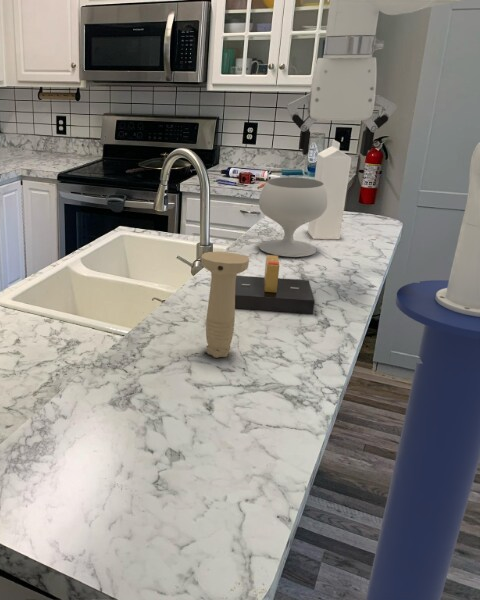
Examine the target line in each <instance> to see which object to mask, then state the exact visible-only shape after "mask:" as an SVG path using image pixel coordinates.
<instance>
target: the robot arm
mask: <svg viewBox="0 0 480 600" xmlns="http://www.w3.org/2000/svg"><path fill="white" fill-rule="evenodd" d="M463 1H465V0H329V7H328V14H327V20H326V21H327V22H326V30H325V38H324V46H323V53H322V57H318V58H317V60H316V63H315V66H314V71H313V75H312V79H311V84H310V90H309V93H308V94H305V95H303V96H301V97H299V98H297V99H295V100H293V101H291V102H289V103H287V105H286V108H287V111H288V113H289V116H290V118H291V120H292V122H293V123H294V124H295V125H296V127H298V128H299V129H300V134H299V143H298V144H299V145H298V150H301V153H302V155H303V156H307V155H309V148H310V140H311V131H310V128H311V127H312V126H313V125H314V124H315V123H316V122H317V121H344V122H345V121H349V122H350V121H351V122H352V121H353V122H355V121H357V122H358V121H361V122H362V123H363V125H364V126H365V129H364V130H363V131H362V135H361V136H362V137H361V142H360V150H359V154H360V155H361V156H363V157H368V155H369V152H370V151H372V149H373V146H374V145H373V144H374V138H375V133H376V132H377V131H378V129H380V128H381V127H382V126H383V125H384V124H386V123H387V122H388V121H389V119H390V118H391V116H392V115H393V113H394V112H395V111H396V109H397V104H395V102H392V101H391V100H389V99H387V98H385V97H383V96H381V95H379V94H377V93H376V90H377V77H378V76H377V75H378V73H377V71H378V70H377V66H378V65H377V57H375V56H373V54H374V53H375V52H376V51H378V50H383V49H384V45H385V40H384V39H382V40H381V39H378V38H377V36H376V34H377V28H378V27H377V26H378V21H379V15H380V12H381V13H382V14H385V15H389V16H398V15H402V14H403V15H404V14H410V13H415V12H418V11H421V10H423V9H427V8H432V7H437V6H442V5H447V4H453V3H457V2H463ZM306 104H307V114H308V115H307V116H306V117H305V118H304V119H302V118H301V116H300V115H299V113H298V109H299V108H300V107H302V106H304V105H306ZM375 104H377V105H379V106H381V107H382V108H383V111H382V113H380V115H379V116H377V117H376V118H375V119H374V120H373V118H372V116H373V113H374V108H375ZM468 177H469V178H468V190H467V196H466V203H465V208H464V212H463V217H462V220H461V225H460V229H459V235H458V238H457V243H456V247H455V253H454V257H453V261H452V266H451V269H450V274H449V278H448V281H449V283H448V287H447V288H445V289H441V290H439V291H438V292H437V293H436V297H435V300H436V301H437V303H438V304H440V305H441V306H443V307H444V308H447V309H449V310H451V311H454V312H457V313H461V314H465V315H469V316H475V317H480V141H479V142H478V143H477V144H476V146H475V147H474V149H473V152H472V155H471V159H470V164H469V175H468Z"/></svg>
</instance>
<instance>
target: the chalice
mask: <svg viewBox="0 0 480 600" xmlns="http://www.w3.org/2000/svg"><path fill="white" fill-rule="evenodd" d="M258 206H259V209H260V211H261V212H262V214H263V215H264V216H266V217H267V218H269V219H270V220H272V221H273V222H275V223H277V224H278V225H279V226H280V227H281V228H282V229H283V232H284V236H283V238H282V239H270V240H265V241H263V242H261V243H260V244H259V245H258V247H259V249H260V250H261V251H263V252H265V253H267V254H269V255H275V256H281V257H288V258H289V257H292V258H293V257H294V258H295V257H307V256H311V255H314V254H315V253H316V252H317V248H316V247H315V246H314V245H312V244H310V243H307V242H304V241H299V240H295V239H294V233H295V231H296V230H297V229H298V228H300V227H301V226H303V225H305V224H309V222H310V221H313V220H315V219H317V218H319V217H320V216H321V215H322V214H323V213H324V212H325V210H326V208H327V192H326V188H325V186H324V184H323V183H322V182H320V181H317V180H314V179H312V178H306V177H291V176H290V177H289V176H287V177H285V176H284V177H275V178H269V179H268V180H267V181H266V182H265V183H264V185H263V187H262V188H261V192H260V194H259V198H258Z"/></svg>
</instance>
